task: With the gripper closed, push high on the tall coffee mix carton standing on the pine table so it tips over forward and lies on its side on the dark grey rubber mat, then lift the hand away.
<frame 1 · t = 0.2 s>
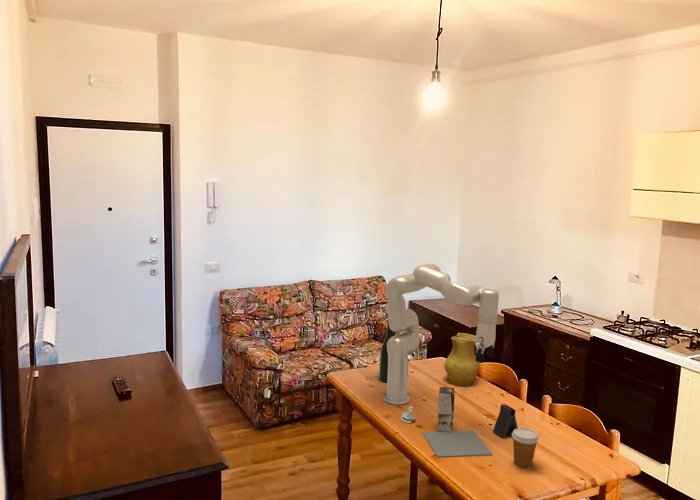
hand: (484, 359, 230), 31 cm above the table, tool pointing down, fingers open, 9 cm apart
coffee box: (445, 427, 235), on the table, touching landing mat
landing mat: (456, 443, 221), on the table
pacifier: (407, 420, 241), on the table
pitcher: (462, 382, 289), on the table
phone stand: (505, 434, 231), on the table
disposable coffee cup: (522, 464, 207), on the table
dark green bottle: (388, 380, 289), on the table
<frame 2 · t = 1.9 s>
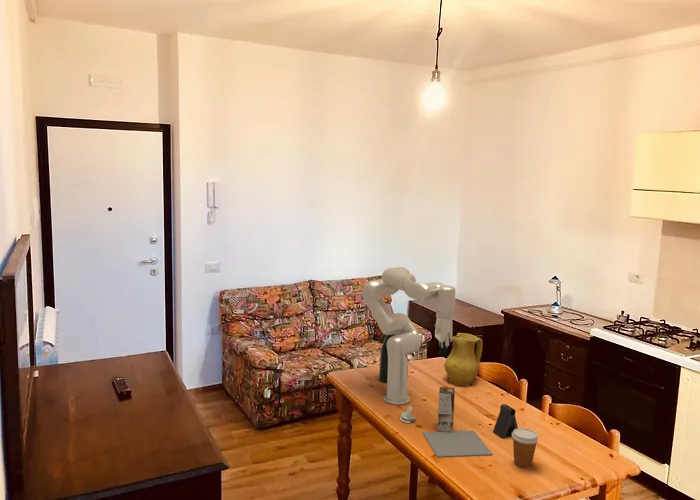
hand: (442, 355, 240), 29 cm above the table, tool pointing down, fingers closed
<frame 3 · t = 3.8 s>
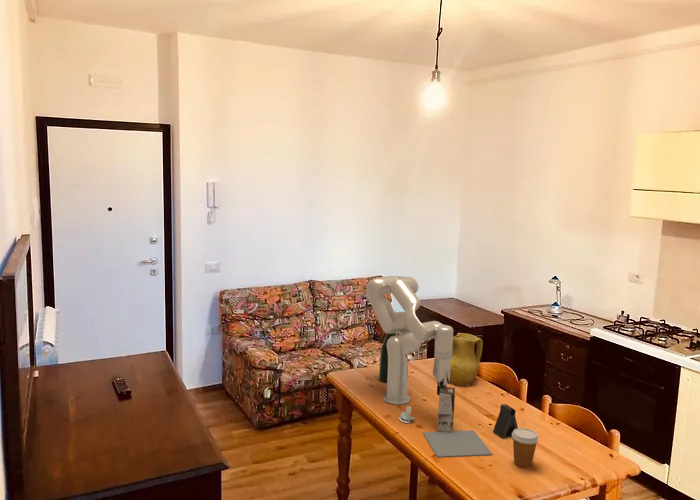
hand: (440, 394, 242), 11 cm above the table, tool pointing down, fingers closed
coffee box: (445, 427, 235), on the table, touching gripper, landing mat
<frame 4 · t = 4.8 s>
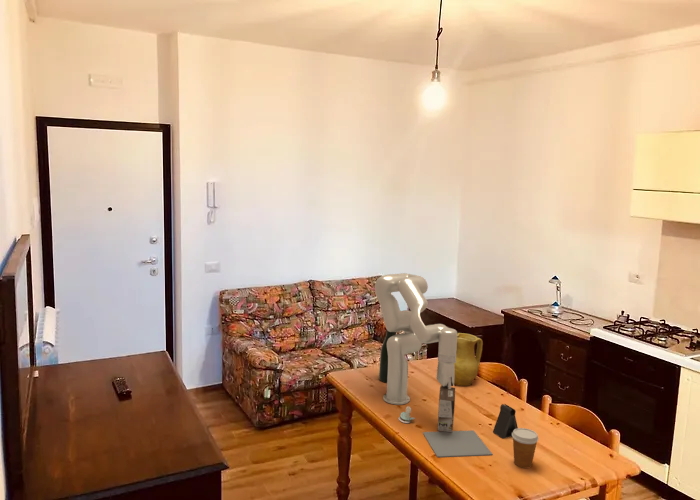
hand: (444, 399, 236), 11 cm above the table, tool pointing down, fingers closed
coffee box: (445, 424, 234), point 2 cm above the table, touching gripper, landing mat
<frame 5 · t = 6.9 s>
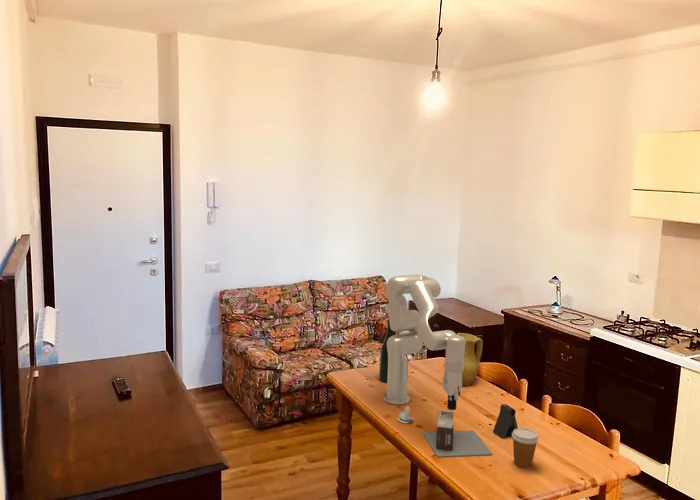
hand: (451, 408, 227), 11 cm above the table, tool pointing down, fingers closed
coffee box: (445, 421, 230), point 5 cm above the table, touching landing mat
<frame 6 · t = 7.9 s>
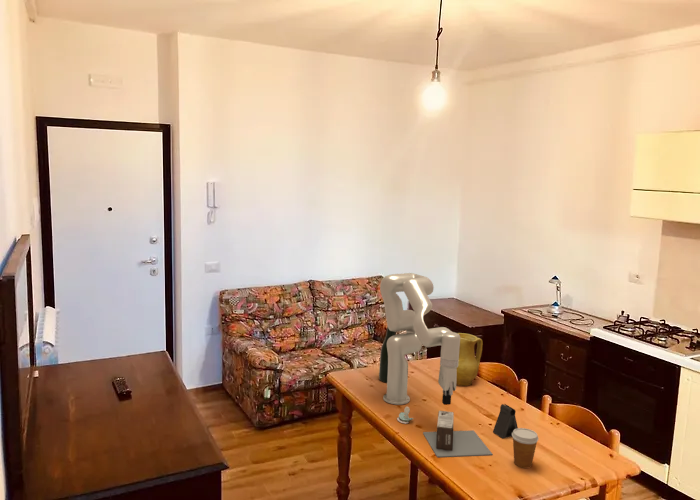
hand: (446, 403, 233), 11 cm above the table, tool pointing down, fingers closed
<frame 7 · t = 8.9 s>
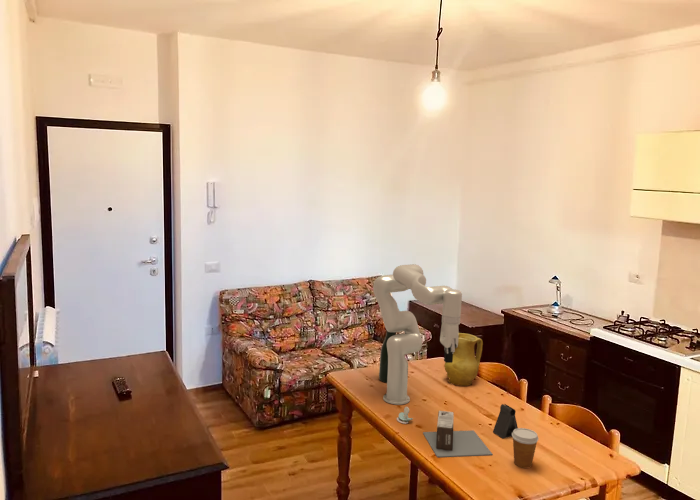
hand: (448, 361, 232), 29 cm above the table, tool pointing down, fingers closed
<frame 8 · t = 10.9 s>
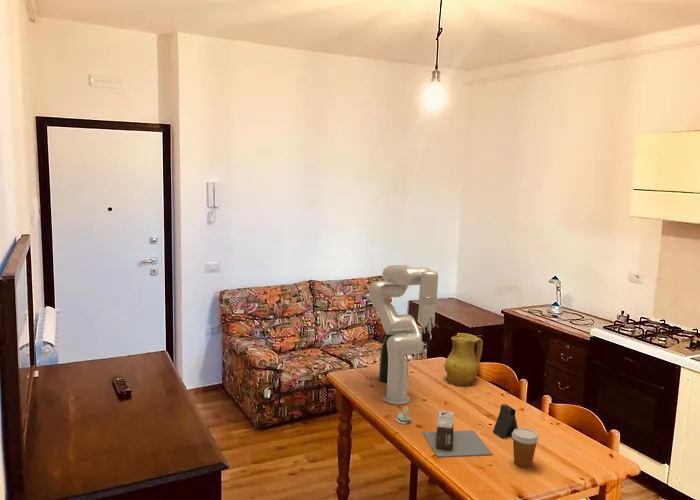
hand: (425, 341, 238), 35 cm above the table, tool pointing down, fingers closed
at the end: coffee box tilted 91°; coffee box inside the target area (2.4 cm from its centre), point 5.1 cm above the table; coffee box touching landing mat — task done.
